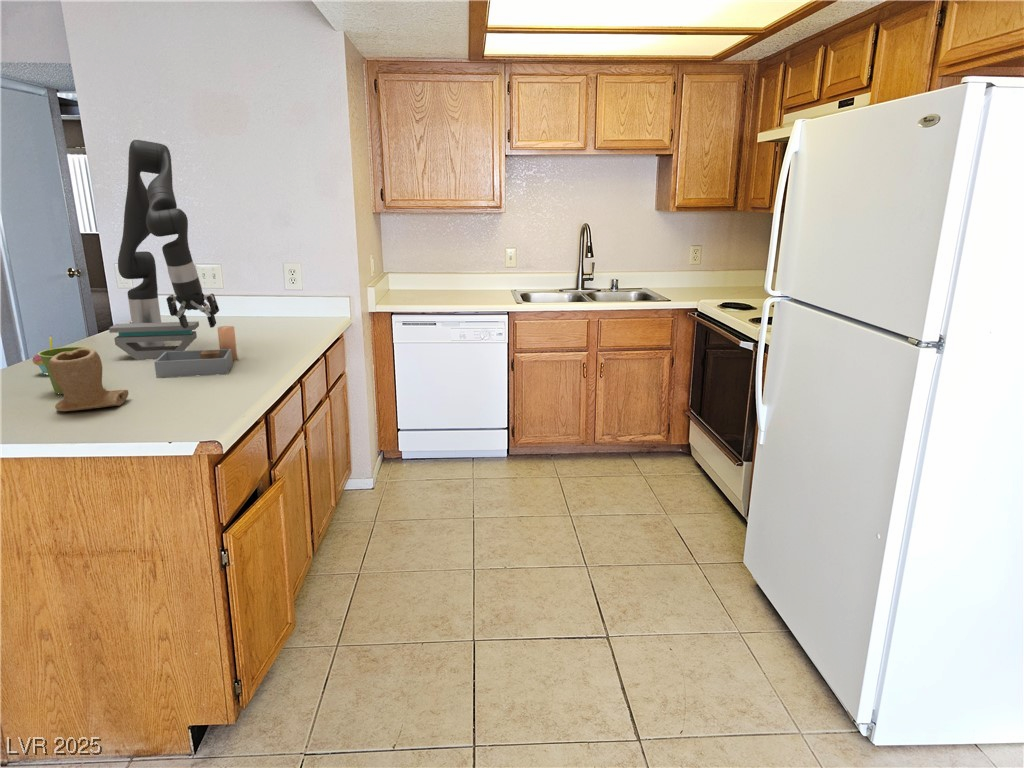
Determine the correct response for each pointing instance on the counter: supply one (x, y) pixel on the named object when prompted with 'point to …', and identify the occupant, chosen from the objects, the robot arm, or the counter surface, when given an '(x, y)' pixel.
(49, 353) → the plant pot
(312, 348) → the counter surface
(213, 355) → the cube
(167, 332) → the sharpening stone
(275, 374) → the counter surface
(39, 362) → the cupcake
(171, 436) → the counter surface
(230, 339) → the peach dome-topped cylinder
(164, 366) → the tote
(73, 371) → the tan hollow clay piece
